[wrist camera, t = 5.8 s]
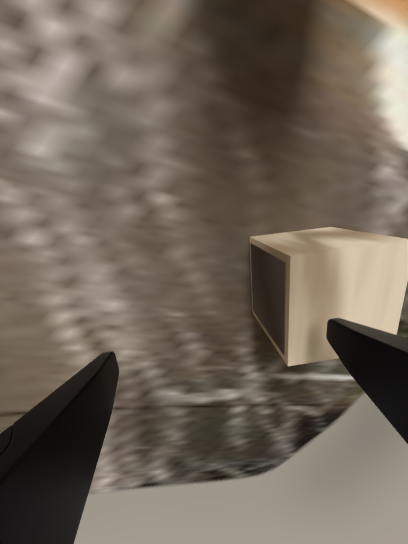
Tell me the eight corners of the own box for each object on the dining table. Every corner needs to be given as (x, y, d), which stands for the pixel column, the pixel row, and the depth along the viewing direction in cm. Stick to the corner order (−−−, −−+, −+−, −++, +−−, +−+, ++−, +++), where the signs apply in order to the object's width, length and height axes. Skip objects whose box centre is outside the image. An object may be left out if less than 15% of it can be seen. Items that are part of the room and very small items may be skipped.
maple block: (286, 366, 11) (393, 349, 12) (289, 256, 10) (415, 240, 10) (251, 312, 17) (324, 301, 18) (248, 236, 15) (330, 226, 16)
